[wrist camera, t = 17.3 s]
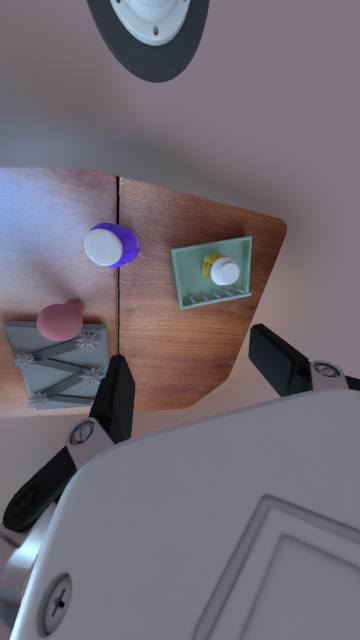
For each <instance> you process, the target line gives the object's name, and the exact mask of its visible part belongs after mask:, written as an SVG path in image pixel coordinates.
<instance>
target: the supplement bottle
mask: <svg viewBox="0 0 360 640" xmlns="http://www.w3.org/2000/svg"><path fill="white" fill-rule="evenodd" d="M201 271H202V273H203V274H204V275H205V276H206V277H207V278H209V279H210V280H212V281H213V282H215V283H216V284H218V285H227V284H232V283H234V282H235V281H236V280H237V279H238V277H239V273H240V271H239V267H238V266H237V263H236V261H235V260H234V259H232V258H231V257H228V256H223V255H220V254H216V253H211V254H208V255H206V256H205V257H204V258H203V260H202V262H201Z"/></svg>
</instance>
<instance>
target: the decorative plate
mask: <svg viewBox="0 0 360 640" xmlns="http://www.w3.org/2000/svg"><path fill="white" fill-rule="evenodd" d="M3 327H4V329H5V332H6V334H7V337H8V340H9V342H10V345H11V347H12V350H13V353H14V355H15V358H12V359H16V360H14V361H17V362H15V363H13V364H14V366H16V365H18V368H19V369H20V371H21V373H22V376H23V379H24V381H25V384H26V386H27V389H28V392H29V394H30V397H31V398H30V399H29V400H32V401H30V403H32V402H33V403H32V404H31V405H34V407H35V408H36V410H40V409H56V408H72V407H88V406H92V405H93V402H94V399H95V396H96V393H97V390H98V387H99V384H100V381H101V379H102V378H105V376H106V372H107V369H108V366H109V357H108V342H107V328H106V327H105V326H104V325H102V324H86V323H83V326H82V329H81V330H80V332H79V333H78V334H77V335H76V336H75V337H73V338H71V339H69V340H65V341H54V340H50V339H48V338H46V337H44V336H43V335H42V334H41V333H40V332H39V330H38V328H37V323H36V321H11V320H8V321H6V322H5V323H4V324H3ZM18 368H17V369H18ZM28 404H29V403H28ZM31 405H30V406H31ZM30 406H29V407H30ZM34 407H33V408H34ZM91 408H92V407H91ZM91 408H90V409H91Z"/></svg>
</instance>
